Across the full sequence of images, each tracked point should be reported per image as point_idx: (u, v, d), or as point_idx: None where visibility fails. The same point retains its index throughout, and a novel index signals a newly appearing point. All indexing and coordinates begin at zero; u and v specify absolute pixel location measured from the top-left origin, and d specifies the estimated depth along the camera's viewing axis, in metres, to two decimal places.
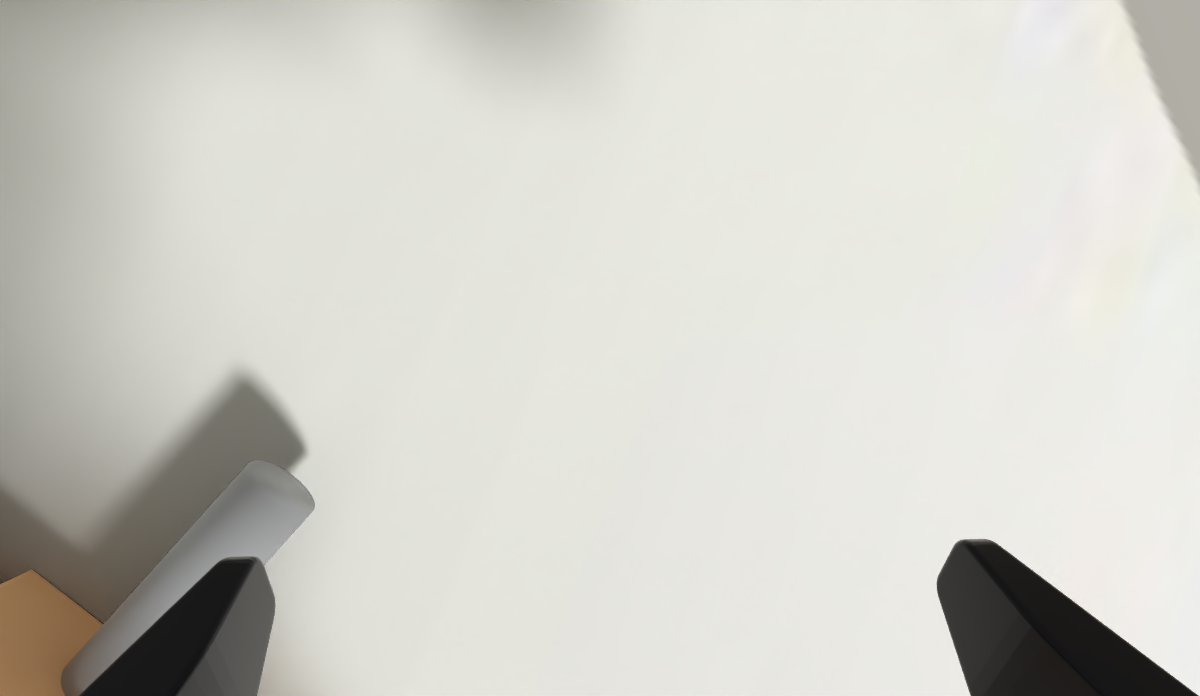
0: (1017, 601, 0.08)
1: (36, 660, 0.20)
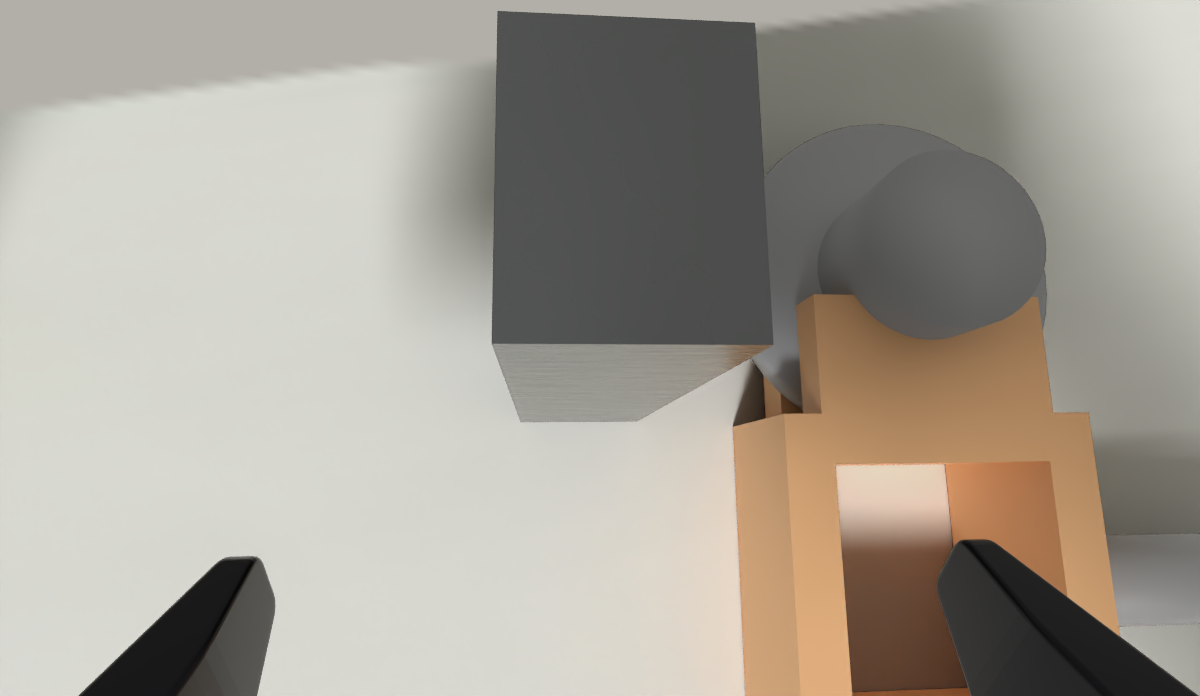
0: (1017, 601, 0.08)
1: None
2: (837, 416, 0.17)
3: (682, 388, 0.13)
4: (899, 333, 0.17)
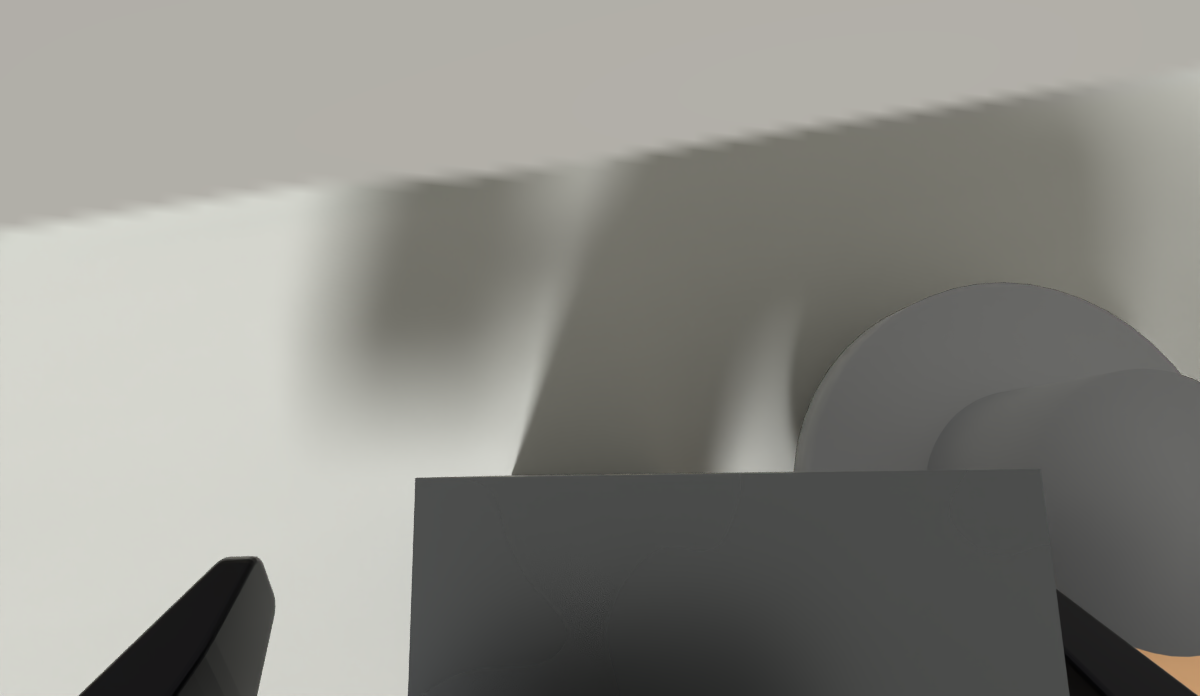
0: None
1: None
2: None
3: None
4: None
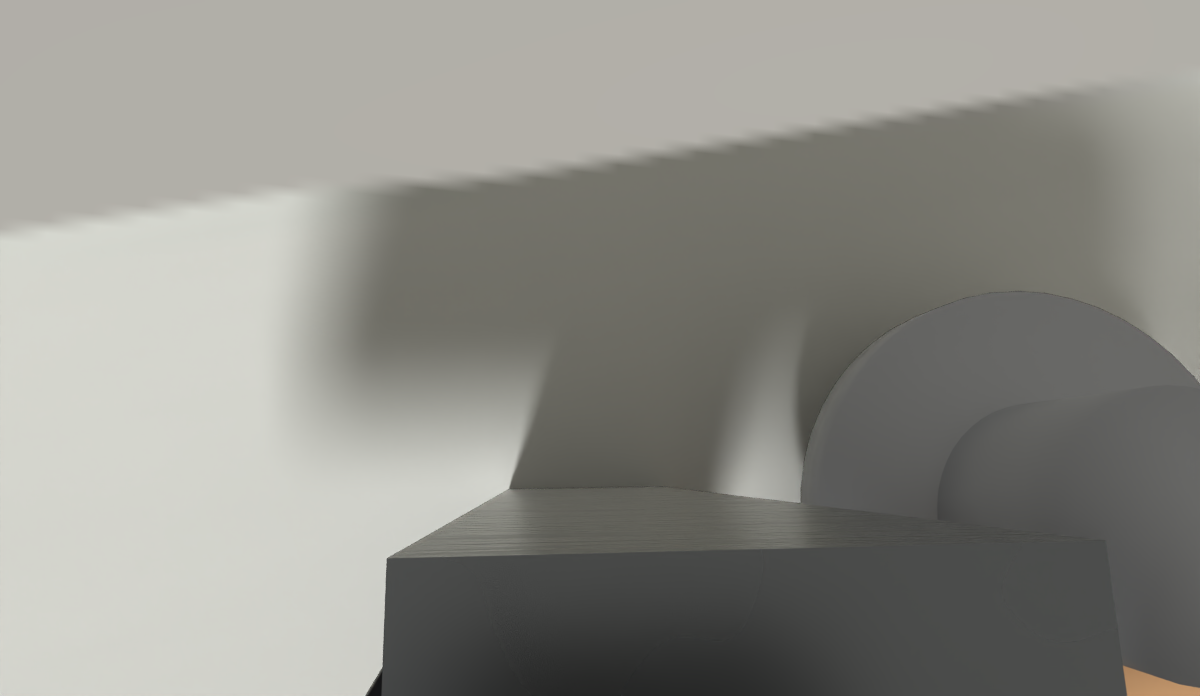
0: None
1: None
2: None
3: None
4: None
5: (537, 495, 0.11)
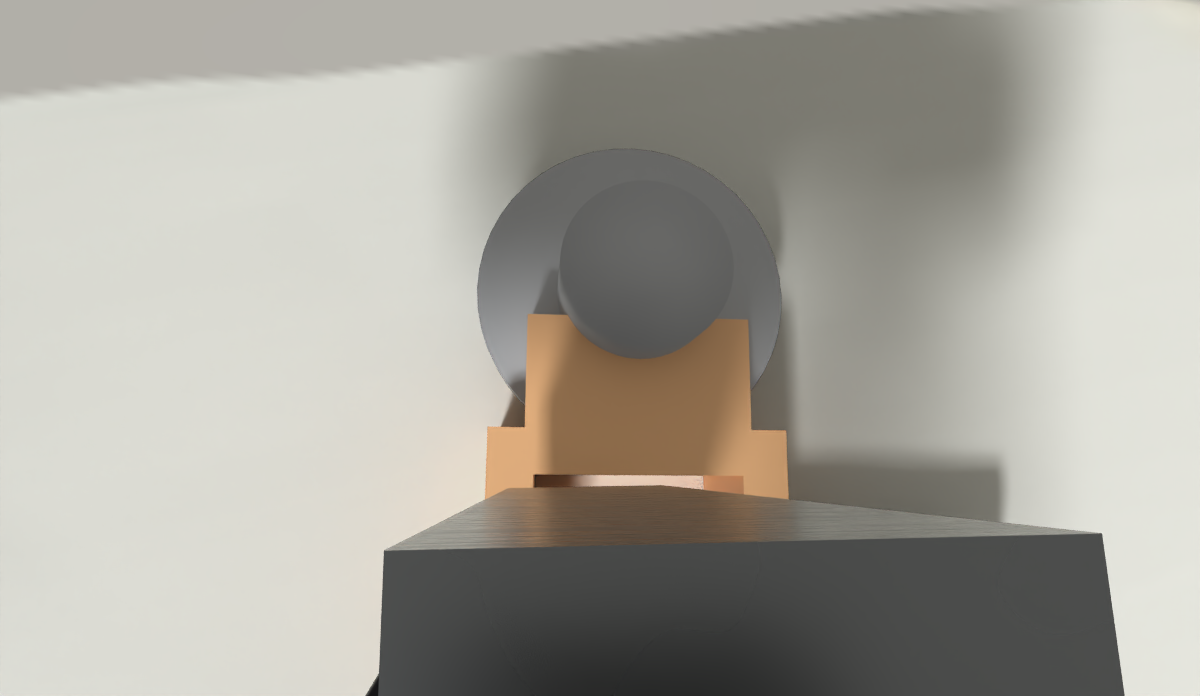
0: None
1: None
2: (539, 430, 0.18)
3: None
4: (608, 352, 0.18)
5: (536, 493, 0.11)
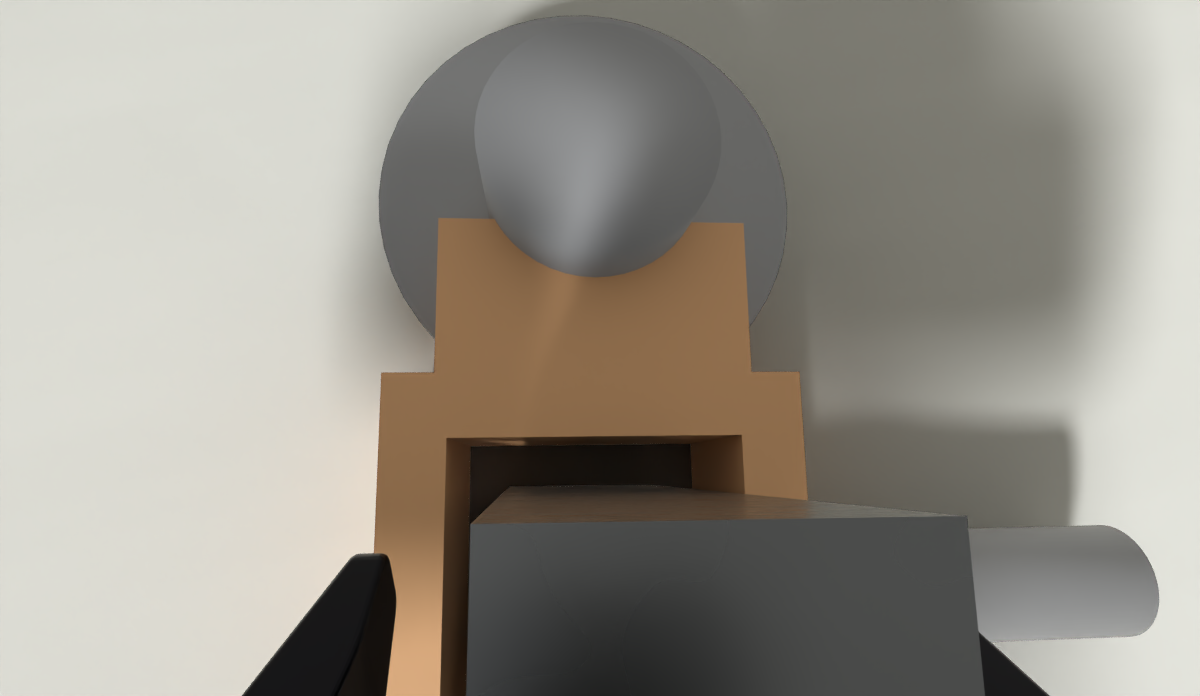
0: None
1: None
2: (455, 376, 0.13)
3: None
4: (551, 269, 0.13)
5: (541, 490, 0.12)
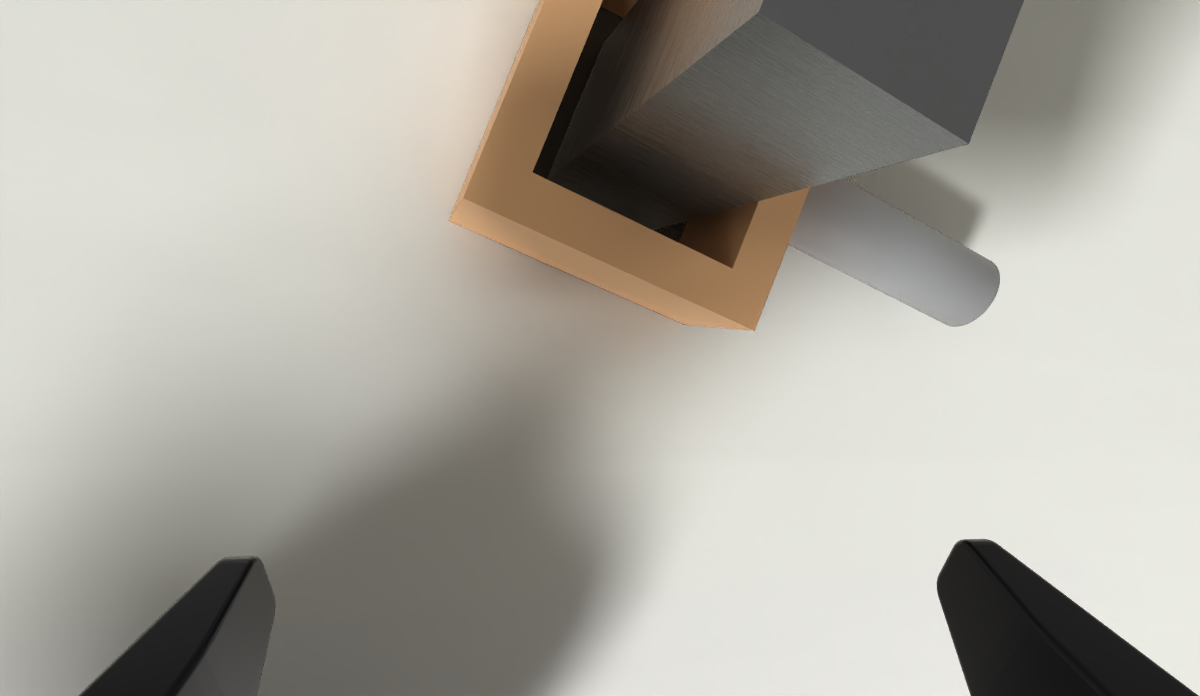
0: (1017, 601, 0.08)
1: None
2: None
3: (780, 186, 0.13)
4: None
5: None
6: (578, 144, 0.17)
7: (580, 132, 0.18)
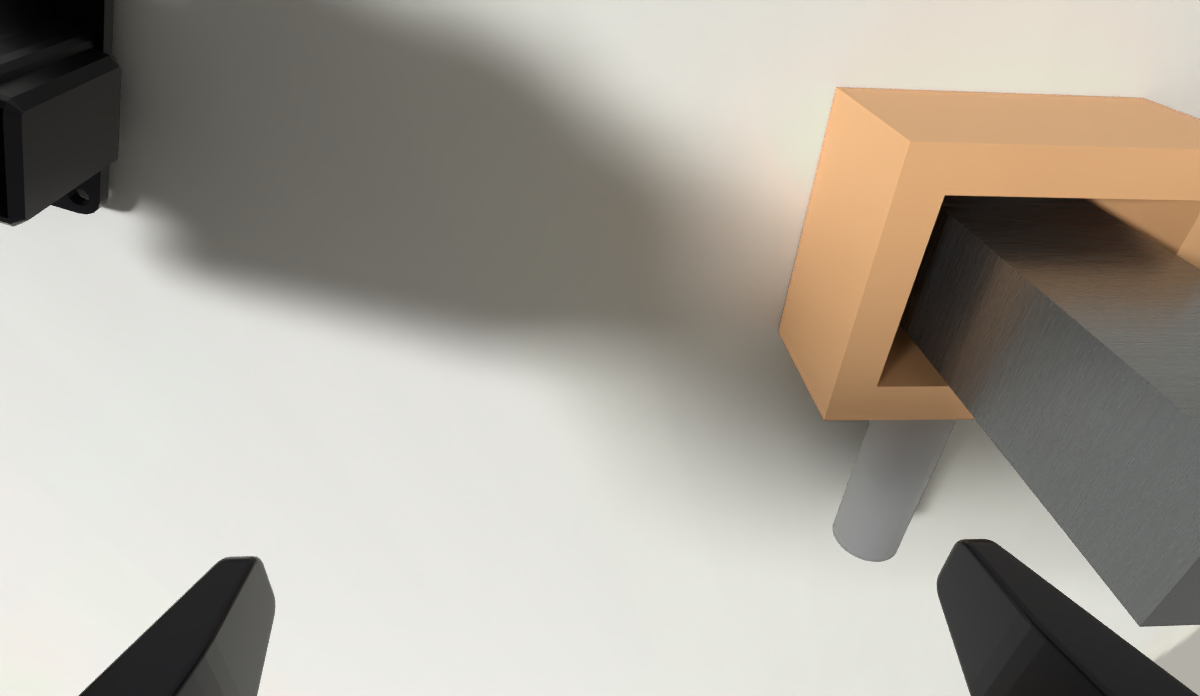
0: (1017, 601, 0.08)
1: None
2: None
3: (1002, 439, 0.15)
4: None
5: None
6: (961, 210, 0.17)
7: (968, 203, 0.18)
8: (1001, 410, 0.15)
